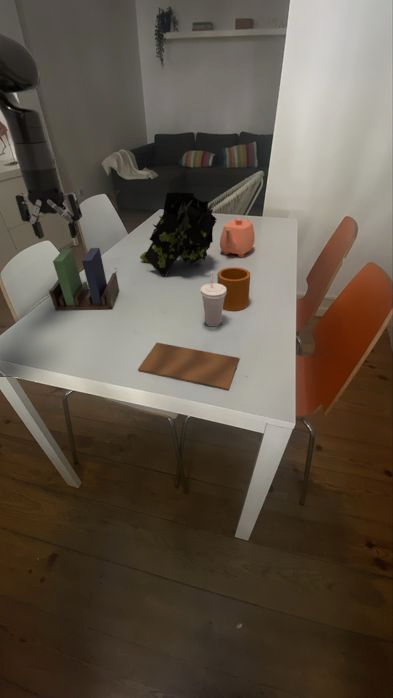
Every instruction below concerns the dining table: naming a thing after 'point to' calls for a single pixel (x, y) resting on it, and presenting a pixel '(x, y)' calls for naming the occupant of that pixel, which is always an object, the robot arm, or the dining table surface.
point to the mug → (235, 287)
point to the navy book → (95, 274)
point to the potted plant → (180, 232)
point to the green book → (68, 274)
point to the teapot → (237, 237)
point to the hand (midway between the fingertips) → (58, 237)
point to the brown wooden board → (190, 365)
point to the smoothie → (213, 301)
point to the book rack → (86, 297)
